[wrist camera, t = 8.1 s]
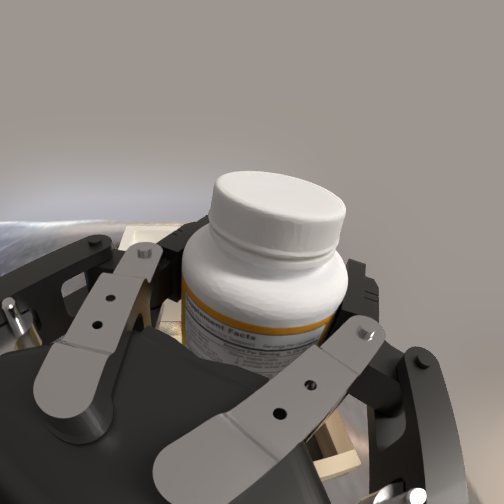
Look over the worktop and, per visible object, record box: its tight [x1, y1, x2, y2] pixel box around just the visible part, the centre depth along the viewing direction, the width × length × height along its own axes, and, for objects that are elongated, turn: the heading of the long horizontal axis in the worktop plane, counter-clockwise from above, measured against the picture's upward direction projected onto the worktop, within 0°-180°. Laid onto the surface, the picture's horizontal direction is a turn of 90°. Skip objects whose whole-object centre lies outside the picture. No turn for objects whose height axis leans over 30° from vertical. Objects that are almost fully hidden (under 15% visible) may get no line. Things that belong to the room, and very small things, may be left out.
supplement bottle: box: [181, 171, 348, 381], centre depth 11 cm, size 6×6×10 cm
